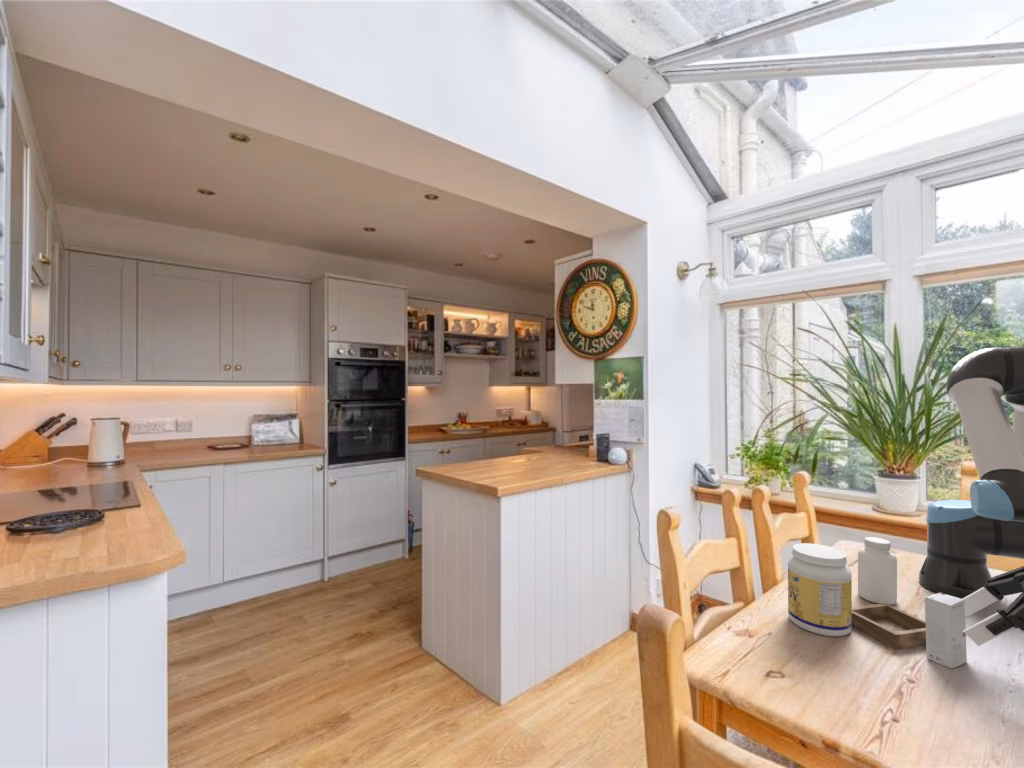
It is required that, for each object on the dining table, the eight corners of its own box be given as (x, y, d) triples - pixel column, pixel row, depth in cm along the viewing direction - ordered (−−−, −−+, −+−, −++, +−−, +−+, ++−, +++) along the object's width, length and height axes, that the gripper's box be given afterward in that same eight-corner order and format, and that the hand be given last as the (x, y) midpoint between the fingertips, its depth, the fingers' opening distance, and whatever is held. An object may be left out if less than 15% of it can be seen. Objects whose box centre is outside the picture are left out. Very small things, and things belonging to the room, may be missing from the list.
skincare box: (953, 670, 90) (952, 606, 90) (924, 658, 94) (923, 597, 94) (968, 661, 93) (967, 599, 93) (939, 650, 97) (938, 591, 97)
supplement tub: (779, 610, 115) (779, 540, 115) (835, 614, 113) (834, 543, 113) (801, 636, 103) (800, 558, 103) (864, 641, 101) (863, 561, 101)
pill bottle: (904, 607, 116) (904, 545, 116) (867, 604, 118) (867, 543, 118) (886, 593, 124) (885, 536, 124) (851, 590, 126) (851, 534, 126)
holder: (885, 616, 112) (885, 603, 112) (941, 642, 100) (941, 628, 100) (843, 621, 109) (843, 608, 109) (896, 649, 97) (896, 634, 97)
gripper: (1138, 607, 71) (998, 672, 80) (1079, 559, 91) (973, 616, 99) (1083, 563, 74) (954, 631, 83) (1038, 527, 94) (938, 585, 103)
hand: (964, 623), depth 91 cm, fingers open, 13 cm apart
